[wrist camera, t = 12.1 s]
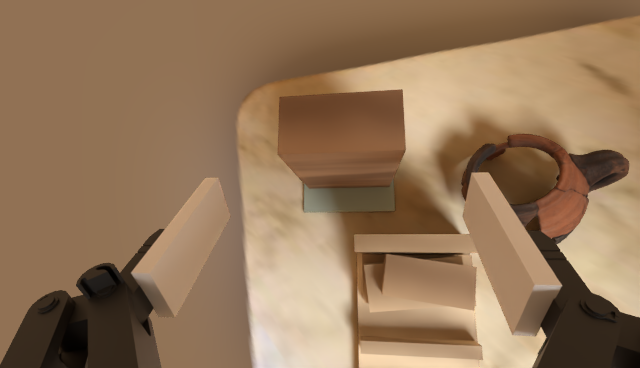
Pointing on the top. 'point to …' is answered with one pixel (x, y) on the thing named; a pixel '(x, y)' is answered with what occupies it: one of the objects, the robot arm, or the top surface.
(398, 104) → the brown rectangular block
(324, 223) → the top surface
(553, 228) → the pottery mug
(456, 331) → the rack
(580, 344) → the robot arm
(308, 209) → the felt mat
